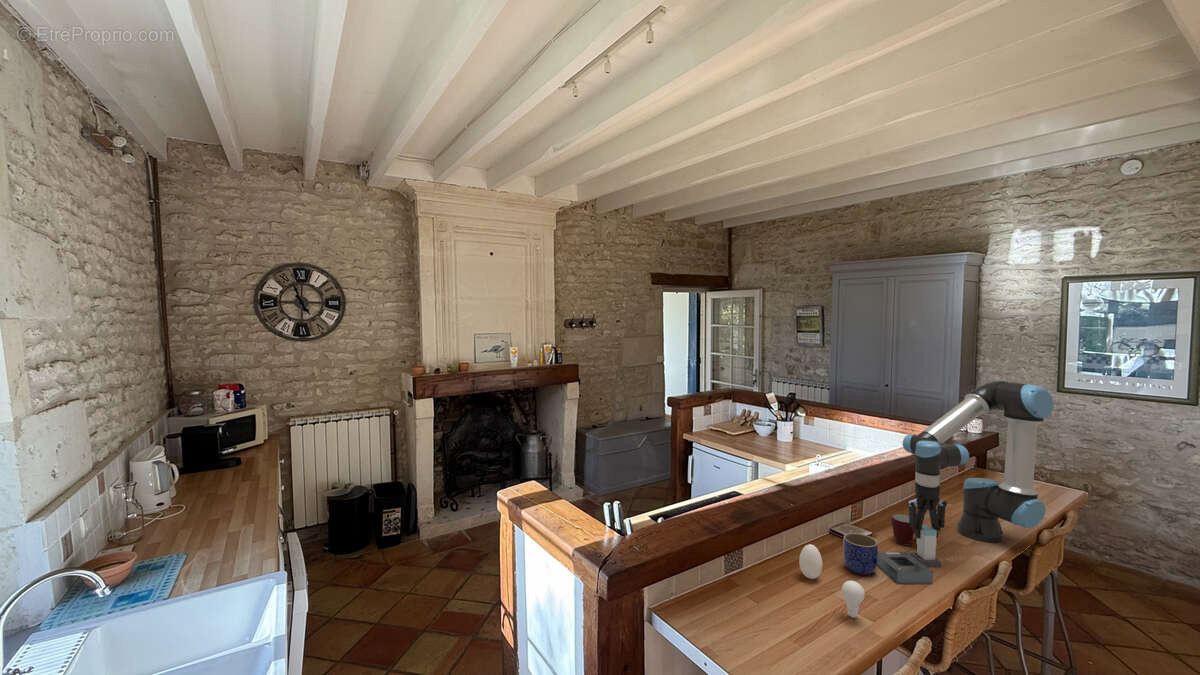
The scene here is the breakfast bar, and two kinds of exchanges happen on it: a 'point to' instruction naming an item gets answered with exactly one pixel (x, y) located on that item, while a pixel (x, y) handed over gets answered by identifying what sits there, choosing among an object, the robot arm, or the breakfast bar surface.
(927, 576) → the panel
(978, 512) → the robot arm
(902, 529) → the mug
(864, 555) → the planter
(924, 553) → the plug
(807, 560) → the egg
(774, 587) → the breakfast bar surface
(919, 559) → the holster
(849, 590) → the lightbulb
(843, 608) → the breakfast bar surface
